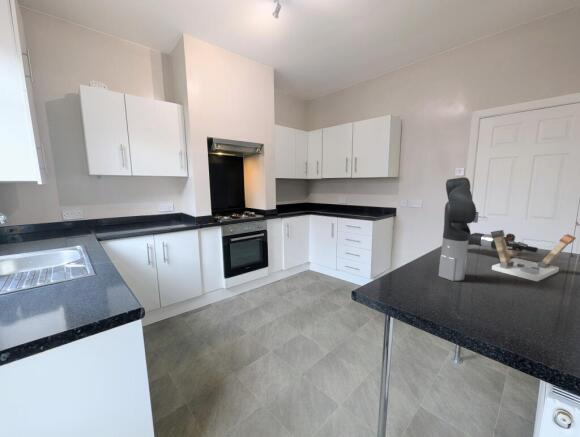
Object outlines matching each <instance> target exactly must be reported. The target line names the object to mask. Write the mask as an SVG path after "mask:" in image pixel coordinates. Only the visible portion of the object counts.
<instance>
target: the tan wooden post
mask: <svg viewBox="0 0 580 437" xmlns="http://www.w3.org/2000/svg"><path fill="white" fill-rule="evenodd" d="M490 235H492V238H494V241H495V244H496V248H497V250H496V251H497V253H498V257H499V261H500V263H501V262H502V263H506V264H508V265H507V266H510V265H511V259H512V258H511V256H510V255H509V252H508V249H507V245H506V242H505V239H504V237H506V235H505V232H504V229H502V230H493V231H490Z"/></svg>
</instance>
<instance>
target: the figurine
mask: <svg viewBox="0 0 580 437" xmlns="http://www.w3.org/2000/svg"><path fill="white" fill-rule="evenodd" d="M505 237H506V238H507V240H508V242H511V241H515V239H516V236H515V234H513V233H507V234H506V235H505ZM508 252H509V255H510V257H512V256H513V257H516V256H518V255H517V254H518V251H515V250H508Z"/></svg>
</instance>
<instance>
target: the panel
mask: <svg viewBox="0 0 580 437" xmlns="http://www.w3.org/2000/svg"><path fill="white" fill-rule="evenodd" d="M510 259H511V265H510V266H507V265H508V264H506V263H502V262H501V261H500V263H499V262H498V263H495V264H493V265H492V266H491V270H492V271H495V272H499V273H503V274H507V275H511V276H516V277H519V278H522V279H526V280H530V281H534V282H540V281H541V280H544V279H546V278H549V277H550V276H552V275H554V274H557V273H559V269H560V266H559V267H558V266H555V265H551V263H552V262H551V263H550V264H548V265H546V263H541V261H538V262H535V261H531V260H527V259H521V258H517V257H514V258H510ZM545 265H546V266H545Z"/></svg>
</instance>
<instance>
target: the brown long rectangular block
mask: <svg viewBox="0 0 580 437" xmlns="http://www.w3.org/2000/svg"><path fill="white" fill-rule="evenodd" d="M576 239H577V237H575V236H573V235H571V234H569V233H567V234H565V235H564V234H563V236H562V237H560V239H559V242H558V243H557V244H556V246H554V247H553V248H552V249H551V250H550V252H549V253H547V255H546V256H545V257H544V258H543V259H542V260H541V261H540V262H541V263H546V265H548V264H550V263H552V262H553V261H554V260H555V259H556V258H558V256H559V255H560V253H562V251H564V250H565V248H567V246H569V245H570V244H572V243H573V242H574V241H575V240H576ZM546 265H545V266H546Z"/></svg>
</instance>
